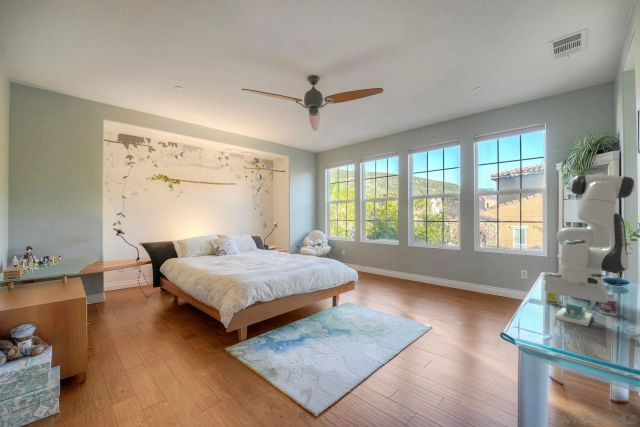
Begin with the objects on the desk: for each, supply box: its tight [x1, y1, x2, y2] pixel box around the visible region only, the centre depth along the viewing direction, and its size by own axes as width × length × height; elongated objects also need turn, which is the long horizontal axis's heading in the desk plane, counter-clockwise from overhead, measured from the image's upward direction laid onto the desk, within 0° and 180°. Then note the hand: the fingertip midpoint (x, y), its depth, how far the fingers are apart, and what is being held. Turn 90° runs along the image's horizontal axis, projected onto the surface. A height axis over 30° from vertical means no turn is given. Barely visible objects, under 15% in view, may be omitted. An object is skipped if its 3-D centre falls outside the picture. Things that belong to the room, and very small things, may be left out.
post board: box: [555, 303, 593, 327], centre depth 118 cm, size 16×10×5 cm, turn 129°
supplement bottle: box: [545, 291, 561, 305], centre depth 138 cm, size 5×5×10 cm
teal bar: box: [564, 302, 585, 320], centre depth 118 cm, size 14×5×4 cm, turn 129°
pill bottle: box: [598, 291, 617, 317], centre depth 124 cm, size 5×5×10 cm
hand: (574, 307), depth 118 cm, fingers open, 8 cm apart
